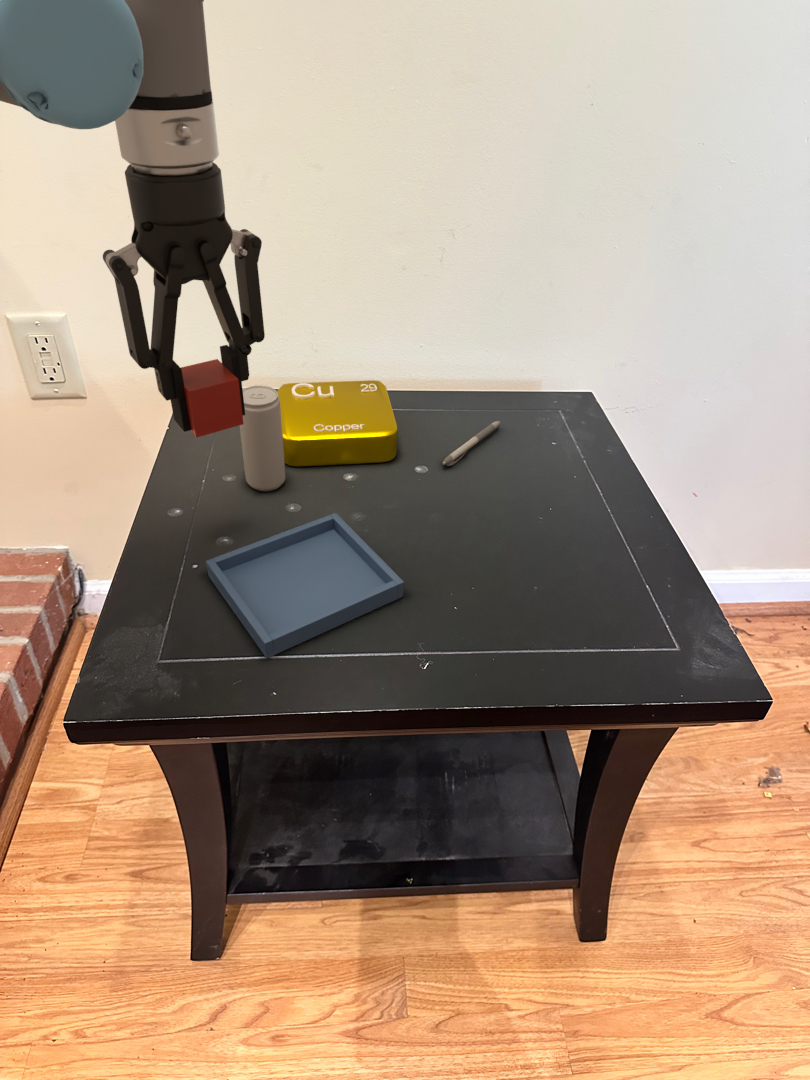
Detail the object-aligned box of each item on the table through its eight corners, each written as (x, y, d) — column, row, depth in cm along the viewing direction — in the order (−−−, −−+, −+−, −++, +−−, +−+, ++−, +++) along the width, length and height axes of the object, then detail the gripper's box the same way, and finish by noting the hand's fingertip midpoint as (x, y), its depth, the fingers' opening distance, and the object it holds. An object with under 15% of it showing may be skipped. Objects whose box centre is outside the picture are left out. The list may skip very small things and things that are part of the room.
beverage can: (282, 494, 88) (276, 406, 80) (243, 492, 88) (232, 404, 80) (288, 471, 92) (282, 385, 84) (249, 470, 92) (240, 383, 84)
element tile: (281, 468, 92) (279, 436, 89) (279, 409, 104) (276, 379, 101) (398, 462, 94) (400, 430, 91) (383, 405, 106) (384, 375, 103)
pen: (439, 468, 94) (440, 459, 93) (495, 426, 103) (497, 417, 102) (445, 471, 93) (446, 462, 93) (501, 428, 102) (503, 419, 101)
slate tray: (266, 658, 68) (264, 643, 67) (208, 575, 77) (205, 560, 75) (403, 596, 75) (404, 581, 74) (336, 526, 84) (335, 512, 82)
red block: (196, 437, 71) (188, 391, 68) (177, 415, 74) (169, 370, 71) (243, 424, 73) (238, 379, 70) (223, 403, 76) (217, 358, 73)
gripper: (69, 187, 52) (133, 460, 67) (294, 162, 60) (307, 410, 75) (42, 163, 57) (108, 424, 72) (254, 143, 65) (274, 381, 80)
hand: (209, 416), depth 73 cm, fingers closed on red block, 5 cm apart
